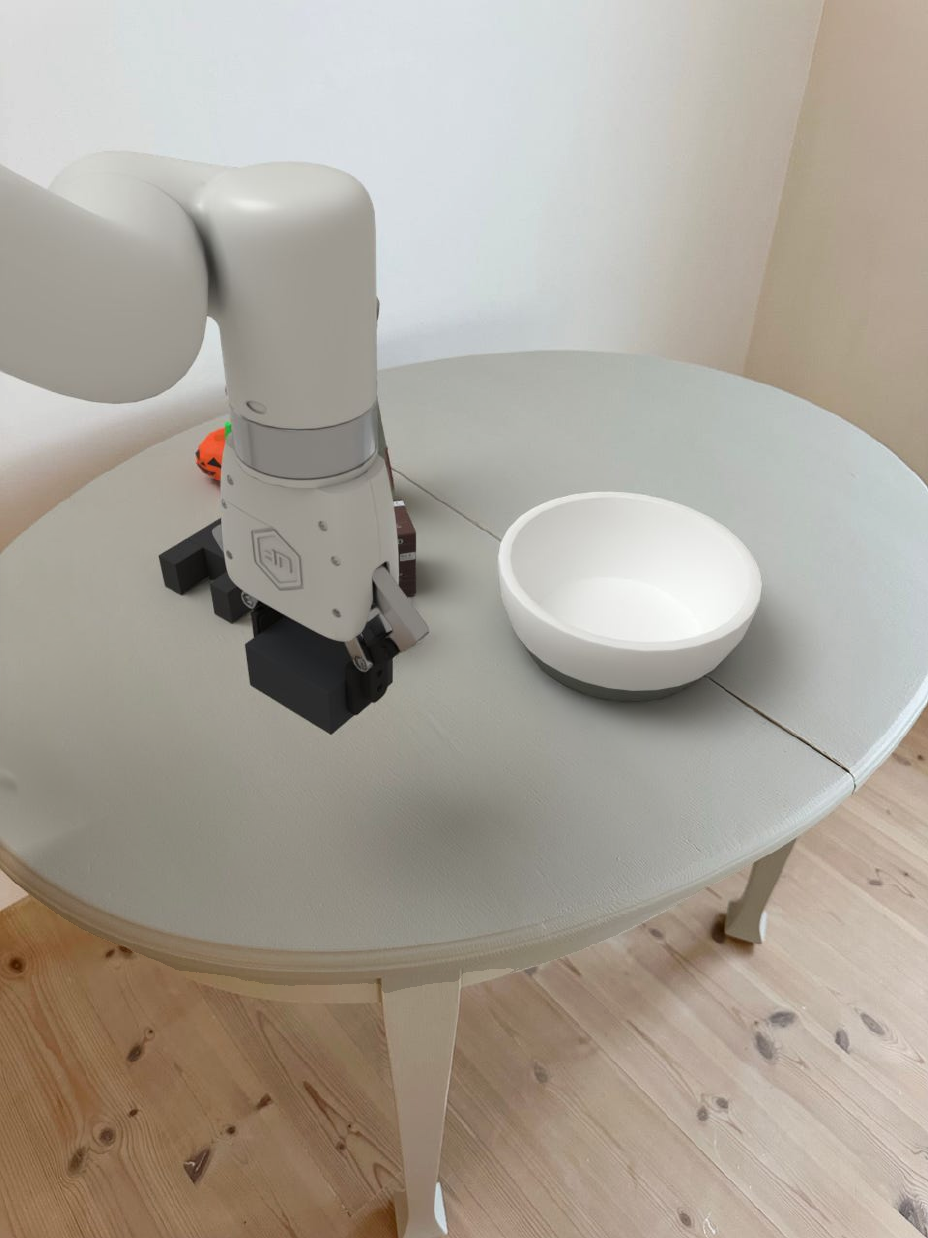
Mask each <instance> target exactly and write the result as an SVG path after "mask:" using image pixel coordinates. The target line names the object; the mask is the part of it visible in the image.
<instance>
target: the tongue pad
mask: <svg viewBox="0 0 928 1238" xmlns="http://www.w3.org/2000/svg"><path fill="white" fill-rule="evenodd" d="M361 633H362V636H363V638H364V640H365V643H367V642H369V641H370V640H371V639H373V638H375V637H374V634H373V632H372V629H371V627H370V625H369V622H368V623H367V624H366V625H365V627H364V629H363V631H362V632H361ZM244 649H245V658H246V665H247V672H248V680H249V685H250V686H251V687H252V688H253V689H256V690H257V691H259V692H260V693H262V694H263V695H265V696H267V697H268V698H270V699H271V700H273V701H275V702H276V703H278V704H280V705H282V706H283V707H285V708H286V709H288V710H289V711H291V712H292V713H294V714H296V715H298V716H299V717H301V718H302V719H304V720H306V721H307V722H308V723H310V724H311V725H314V726H315V727H316V728H318V729H320V730H322V731H324V733H327V734H329V735H330V736H332V735H333V734H335V733H336V732H337V731H338V730H339V729H340V728H342V727H343V726H344V725H345V724H346V723H348V722H349V721H350V720H351V719H352V718H354V716H355V715H353V714H352V713H350V712H348V708H347V691H346V680H345V667H346V665H347V664H348V663H349V662H350V661H351V660H352V659H351V657H350V654H349V652H348V650H347V648H346V645H345V643H344V642H342V641H336V640H333V639H330V638H327V637H325V636H323V635H321V634H319V633H317V632H315V631H313V630H311V629H309V628H308V627H306V626H304V625H302V624H300V623H298V622H297V621H295V620H293V619H291V618H289V617H288V616H286V615H285V616H284V617H282V618H281V619H280V620H278V621H277V622H275V623H274V624H272V625H271V626H270V627H268V628H267V629H265V630H264V631H263V632H261V633H260V634H258V635H257V636H256V637H254V636H253V638H251V639H250V640H248V641H247V642H246V643H244ZM393 683H394V658H393V659H391V660H388V687H390V686H391V685H392V684H393Z"/></svg>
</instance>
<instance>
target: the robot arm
mask: <svg viewBox="0 0 928 1238" xmlns="http://www.w3.org/2000/svg"><path fill="white" fill-rule="evenodd" d="M376 296H377V226H376V212H375V207H374V202H373V200H372V198H371V195H370V192H369V191H368V190H367V188H366V187H365V185H364V184H363V183H362V182H361V181H360V180H358V178H356V177H355V176H354V175H352V174H350V173H348V172H346V171H344V170H342V169H339V168H336V167H331V166H330V165H329V166H328V165H325V164H320V163H314V162H306V161H289V160H288V161H267V162H260V163H259V162H258V163H253V164H249V165H246V166H242V167H239V166H238V167H236V166H227V165H219V164H212V163H207V162H205V163H204V162H199V161H193V160H187V159H182V158H176V157H170V156H164V155H159V154H152V153H148V152H147V153H145V152H140V151H139V152H138V151H131V150H104V151H96V152H92V153H89V154H86V155H83V156H81V157H79V158H76V159H75V160H73V161H72V162H70V163H68V164H67V165H66V166H64V167H63V168H62V169H61V170H59V172H58V174H57V175H56V176H55V177H54V178H53V179H52V181H51V182H50V184H49V186H48V188H45V187H43V186H41V185H40V184H38V183H36V182H34V181H32V180H30V179H28V178H26V177H25V176H23V175H21V174H19V173H17V172H15V171H13V170H11V169H10V168H8V167H6V166H5V165H3V164H1V163H0V372H1V373H3V374H6V375H8V376H10V377H13V378H15V379H17V380H20V381H22V382H25V383H27V384H29V385H33V386H36V387H38V388H41V389H44V390H47V391H50V392H51V393H54V394H55V393H56V394H59V395H61V396H65V397H69V398H73V399H78V400H81V401H86V402H90V403H99V404H109V405H120V404H130V403H131V404H132V403H133V404H134V403H138V402H143V401H145V400H148V399H151V398H155V397H157V396H159V395H161V394H163V393H165V392H167V391H168V390H170V389H172V388H173V387H174V386H175V385H176V384H177V383H179V382H180V381H181V380H182V379H183V378H184V377H185V376H186V375H187V373H188V372H189V371H190V369H191V368H192V367H193V365H194V363H195V362H196V360H197V358H198V356H199V354H200V351H201V349H202V346H203V343H204V340H205V335H206V328H207V327H206V326H207V321H208V320H207V319H208V317H209V318H211V319H212V320H214V321H215V323H216V324H217V327H218V331H219V337H220V345H221V355H222V364H223V371H224V380H225V387H224V393H225V396H226V398H227V403H228V404H227V405H228V413H229V420H230V421H229V422H231V430H232V432H231V433H229V435H228V436H227V437H226V440H225V445H224V451H223V457H222V467H221V481H220V486H219V487H220V491H219V493H220V496H219V497H220V518H221V524H220V525H219V526H217V527H215V528H213V530H212V534H213V536H214V538H215V540H216V541H217V543H218V545H219V546H220V548H221V549H222V551H223V553H224V556H225V563H226V568H227V572H228V575H229V577H230V579H231V580H232V581H233V582H234V583H235V584H236V585H237V586H238V587H239V588H240V589H242V590H243V592H242V594H241V597H242V600H243V602H244V603H245V605H246V606H247V607H249V608H251V609H252V610H251V611H250V619H251V627H252V634H253V636H252V637H253V638H254V637H256V636H257V635H258V634H260V633H261V632H263V631H264V630H265V629H267V628H268V627H270V626H271V625H272V624H274V623H275V622H277V621H278V620H280V619H281V618H282V617H284V616H285V615H286V616H288V617H289V618H291V619H293V620H295V621H297V622H298V623H300V624H302V625H304V626H306V627H308V628H309V629H311V630H313V631H315V632H317V633H319V634H321V635H323V636H325V637H327V638H330V639H333V640H336V641H342V642H344V643H345V645H346V648H347V650H348V652H349V654H350V657H351V659H352V660H351V661H350V662H349V663H348V664H347V665H346V667H345V680H346V691H347V708H348V712H350V713H352V714H353V715H354V716H358V715H360V714H361V713H362V712H363V711H364V710H365V709H366V708H368V707H369V706H370V705H371V704H375V703H377V702H379V700H381V699H382V698H383V697H384V696H385V694H386V692H387V691H388V687H389V686H388V660H391V659H393V660H394V658H396V657H397V656H399V655H400V654H402V653H404V652H406V651H408V650H409V649H411V648H413V647H415V646H416V645H417V644H418V643H420V642H421V641H422V640H424V638H426V636H428V635H429V634H430V632H431V630H430V627H429V625H428V623H427V621H426V620H425V619H424V618H423V616H422V615H421V614H420V613H419V612H420V611H418V610H417V608H416V607H415V606H414V604H413V603H412V602H411V600H410V598H408V596H406V595H405V594H404V592H403V591H402V589H401V588H400V587H399V554H398V540H397V528H396V519H395V511H394V505H393V498H392V492H391V487H390V482H389V477H388V473H387V469H386V464H385V460H384V459H383V458H382V457H381V456H379V455H378V425H377V397H378V320H377V299H376ZM368 622H369V625H370V627H371V629H372V632H373V634H374V637H375V638H373V639H371V640H370V641H369V642H367V643H365V640H364V638H363V636H362V633H361V632H362V631H363V629H364V627H365V625H366V624H367V623H368Z"/></svg>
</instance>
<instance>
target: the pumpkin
mask: <svg viewBox="0 0 928 1238" xmlns="http://www.w3.org/2000/svg"><path fill="white" fill-rule="evenodd" d="M224 422H225V423H224V427H221V428H218V429H215V430H214V431H212V432H210V433H208V435H207V436H206V437H205V438H204V440H202V441H201V442H200V444H199V446H198V448H197V450H196V451H195V453H194V454H195V460H196V462H195V463H196V466H197V467H198V468H199V470H201V472H202V473H203V474H205V475H207V476H208V477H210V478H211V479H213V480H217V481H219V482H221V467H222V457H223V451H224V445H225V440H226V437H227V436H228V435H229V433H231V432H232V430H231V421H224Z"/></svg>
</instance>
